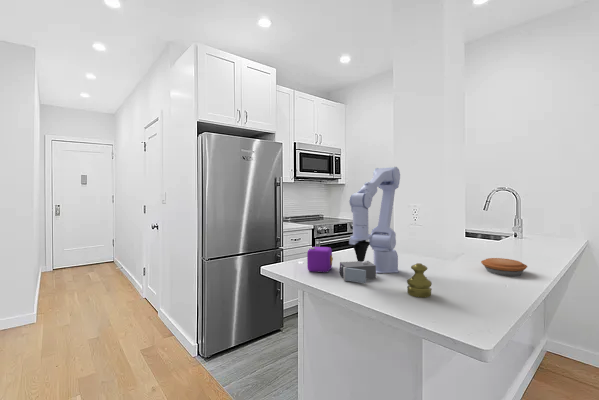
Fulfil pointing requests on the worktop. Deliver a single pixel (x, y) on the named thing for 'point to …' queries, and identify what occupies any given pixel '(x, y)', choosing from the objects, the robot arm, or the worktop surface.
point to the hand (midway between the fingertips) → (360, 261)
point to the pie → (504, 266)
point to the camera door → (354, 275)
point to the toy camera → (319, 259)
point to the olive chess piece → (419, 282)
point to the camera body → (363, 265)
